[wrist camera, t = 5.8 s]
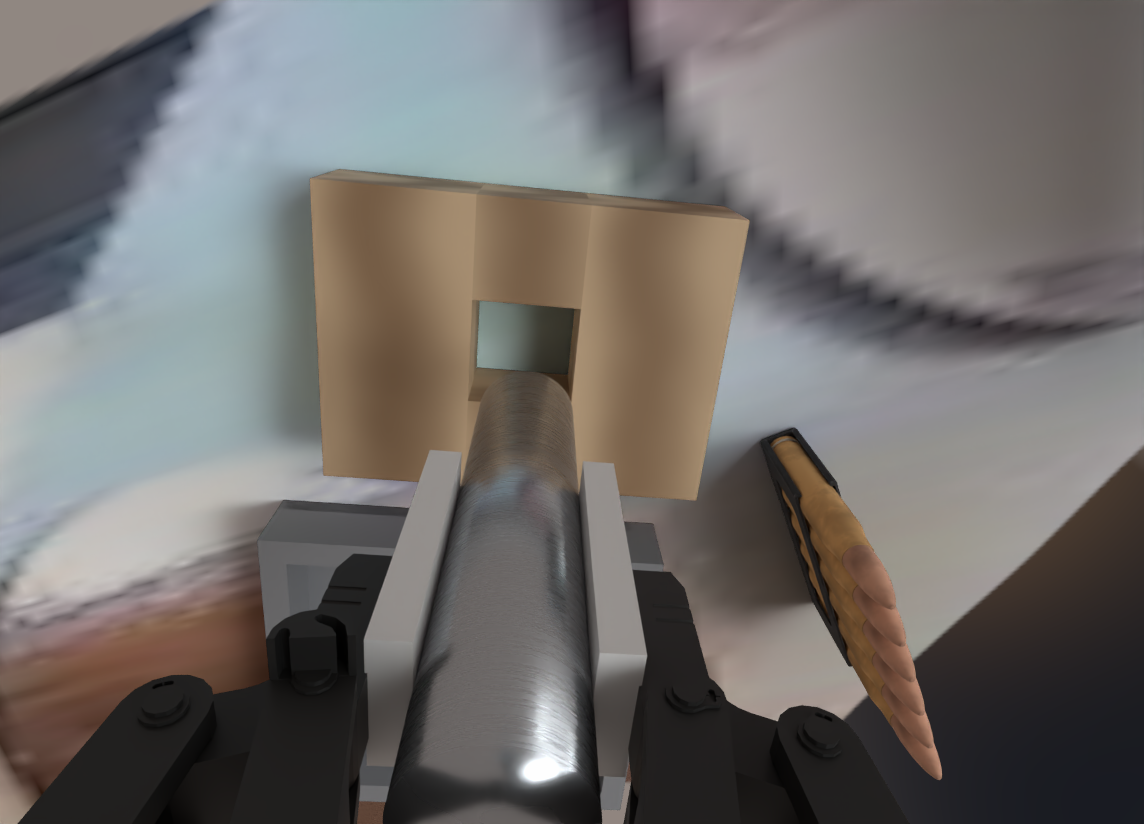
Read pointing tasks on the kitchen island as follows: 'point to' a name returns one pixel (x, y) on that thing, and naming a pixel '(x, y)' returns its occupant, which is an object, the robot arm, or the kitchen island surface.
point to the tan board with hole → (522, 276)
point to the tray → (335, 531)
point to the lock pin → (507, 634)
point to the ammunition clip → (850, 590)
